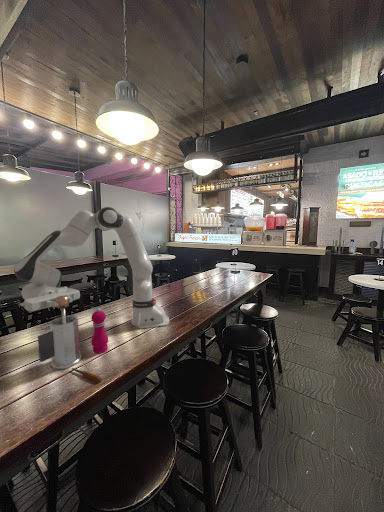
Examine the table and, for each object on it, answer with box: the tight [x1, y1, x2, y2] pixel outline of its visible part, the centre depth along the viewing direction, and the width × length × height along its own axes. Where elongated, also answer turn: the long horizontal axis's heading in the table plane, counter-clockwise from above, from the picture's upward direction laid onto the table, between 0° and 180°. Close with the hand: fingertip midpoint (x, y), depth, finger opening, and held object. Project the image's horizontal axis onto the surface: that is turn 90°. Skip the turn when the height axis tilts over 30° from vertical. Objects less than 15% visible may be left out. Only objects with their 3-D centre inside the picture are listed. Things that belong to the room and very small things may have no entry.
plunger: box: [56, 295, 70, 324], centre depth 89 cm, size 6×6×26 cm
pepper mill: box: [90, 307, 109, 354], centre depth 98 cm, size 7×7×20 cm
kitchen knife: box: [71, 367, 102, 384], centre depth 81 cm, size 16×1×2 cm, turn 65°
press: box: [37, 315, 82, 371], centre depth 88 cm, size 11×14×18 cm
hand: (63, 302), depth 87 cm, fingers closed on plunger, 4 cm apart
